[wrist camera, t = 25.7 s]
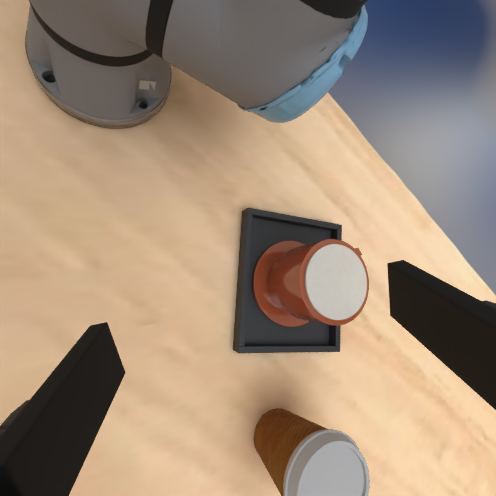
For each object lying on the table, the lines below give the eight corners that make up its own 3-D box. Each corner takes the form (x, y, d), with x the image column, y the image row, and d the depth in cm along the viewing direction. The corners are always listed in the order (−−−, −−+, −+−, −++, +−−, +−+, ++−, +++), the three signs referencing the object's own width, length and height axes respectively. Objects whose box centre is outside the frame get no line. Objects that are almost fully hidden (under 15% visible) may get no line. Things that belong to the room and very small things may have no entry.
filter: (282, 344, 41) (331, 361, 31) (234, 272, 39) (270, 267, 30) (340, 289, 46) (396, 289, 36) (299, 223, 44) (347, 206, 35)
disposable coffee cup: (306, 392, 42) (372, 429, 31) (305, 467, 40) (373, 533, 30) (243, 398, 38) (293, 442, 27) (240, 481, 37) (290, 562, 26)
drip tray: (242, 211, 42) (247, 207, 40) (333, 227, 47) (341, 224, 46) (232, 350, 39) (238, 353, 37) (331, 349, 44) (340, 351, 43)
